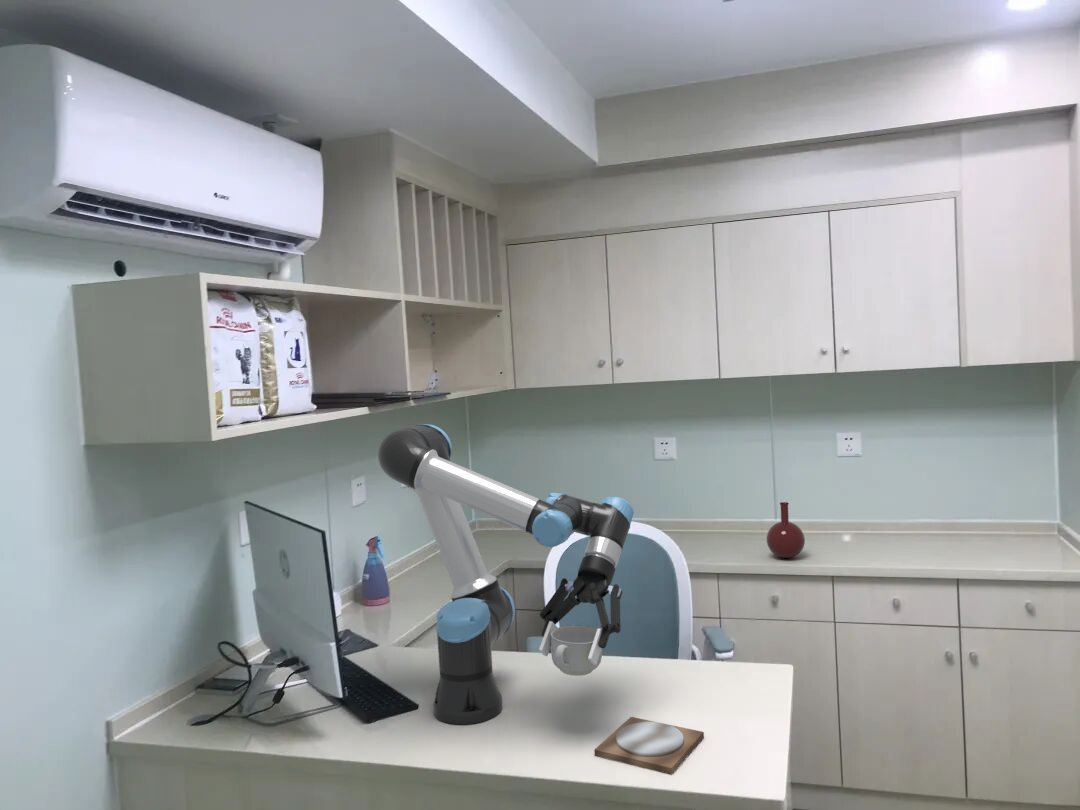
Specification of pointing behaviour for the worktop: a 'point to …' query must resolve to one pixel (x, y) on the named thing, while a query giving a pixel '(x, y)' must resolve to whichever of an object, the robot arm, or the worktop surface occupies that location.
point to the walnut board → (650, 744)
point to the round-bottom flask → (785, 536)
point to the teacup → (573, 649)
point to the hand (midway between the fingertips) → (567, 657)
